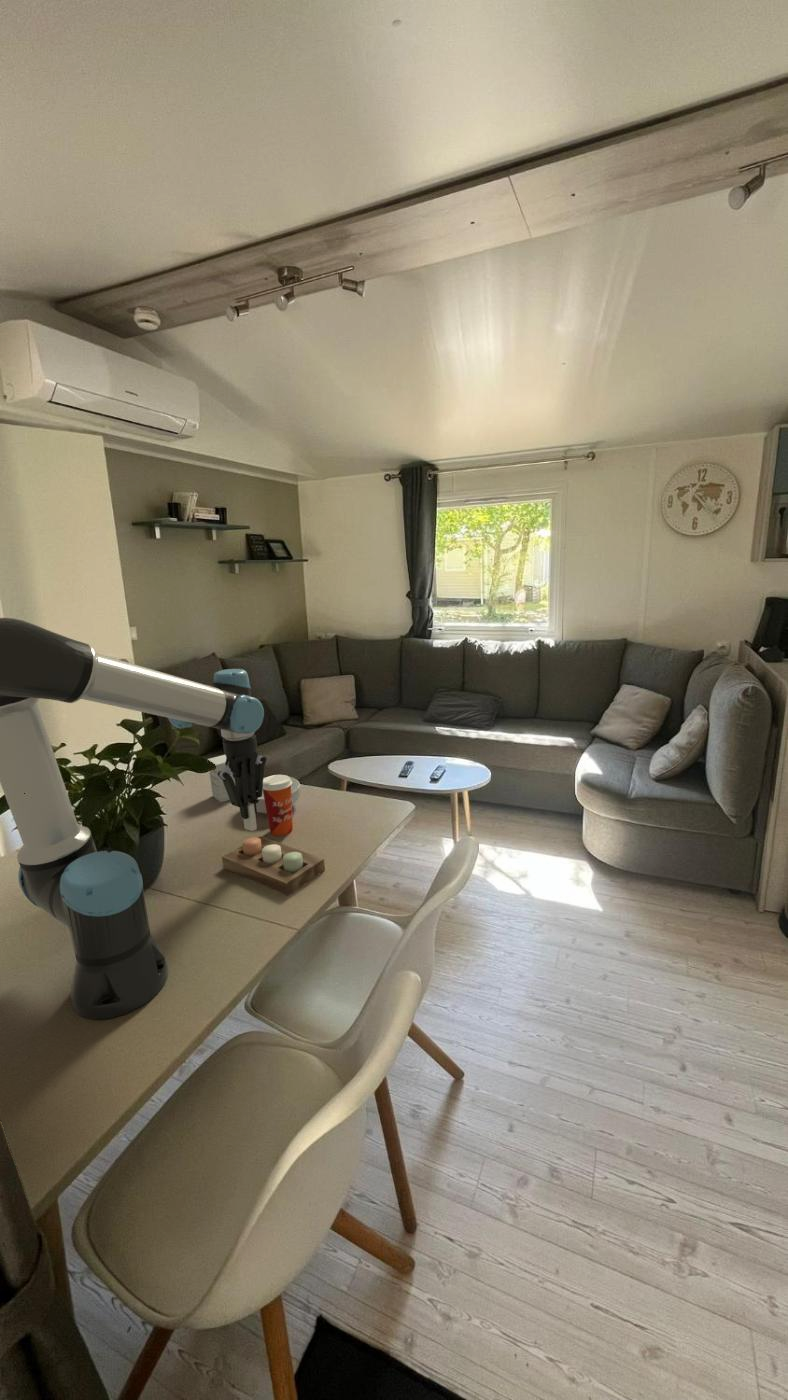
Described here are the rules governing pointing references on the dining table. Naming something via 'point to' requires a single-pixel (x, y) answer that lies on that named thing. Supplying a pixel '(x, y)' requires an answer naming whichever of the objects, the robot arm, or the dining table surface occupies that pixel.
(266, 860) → the cream rounded piece
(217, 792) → the supplement box
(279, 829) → the coffee cup
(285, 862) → the pale green rounded block
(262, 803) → the cereal bowl
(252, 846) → the brown egg
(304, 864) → the walnut panel
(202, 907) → the dining table surface
